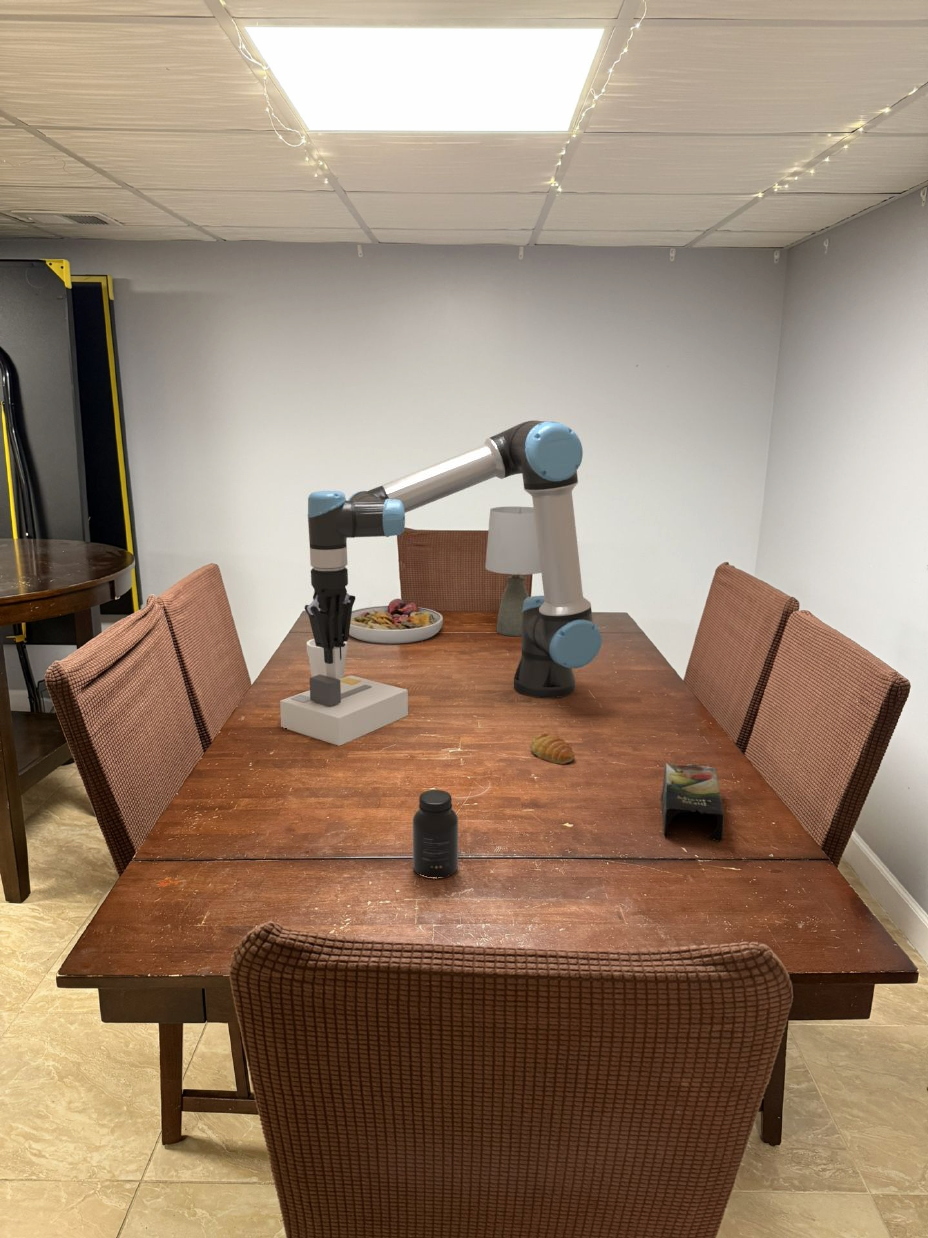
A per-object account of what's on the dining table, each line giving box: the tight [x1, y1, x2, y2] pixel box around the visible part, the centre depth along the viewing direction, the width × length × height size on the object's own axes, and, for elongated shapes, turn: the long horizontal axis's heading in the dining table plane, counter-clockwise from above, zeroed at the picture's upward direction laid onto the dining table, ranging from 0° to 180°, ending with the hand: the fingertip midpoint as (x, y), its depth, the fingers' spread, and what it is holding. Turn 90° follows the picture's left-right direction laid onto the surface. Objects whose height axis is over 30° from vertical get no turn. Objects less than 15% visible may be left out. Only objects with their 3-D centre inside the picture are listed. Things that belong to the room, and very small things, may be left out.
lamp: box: [484, 506, 541, 637], centre depth 261 cm, size 19×19×37 cm
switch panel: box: [279, 674, 409, 747], centre depth 191 cm, size 17×22×6 cm
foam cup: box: [306, 638, 348, 679], centre depth 206 cm, size 10×9×13 cm
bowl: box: [349, 598, 444, 645], centre depth 263 cm, size 30×30×8 cm
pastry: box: [529, 732, 575, 765], centre depth 175 cm, size 9×7×4 cm
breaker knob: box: [309, 674, 341, 706], centre depth 185 cm, size 6×3×5 cm, turn 54°
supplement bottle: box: [412, 789, 459, 878], centre depth 131 cm, size 7×7×12 cm
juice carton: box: [660, 763, 725, 842], centre depth 151 cm, size 20×10×6 cm, turn 169°
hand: (333, 676), depth 186 cm, fingers closed
